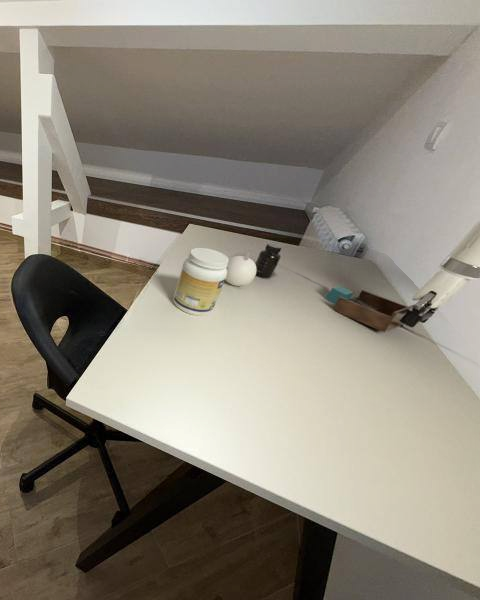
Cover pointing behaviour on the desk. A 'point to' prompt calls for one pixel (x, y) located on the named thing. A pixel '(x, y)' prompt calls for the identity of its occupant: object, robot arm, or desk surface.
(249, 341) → the desk surface
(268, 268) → the supplement bottle
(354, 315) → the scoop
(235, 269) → the ornament
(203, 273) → the supplement tub
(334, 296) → the block
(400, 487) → the desk surface
